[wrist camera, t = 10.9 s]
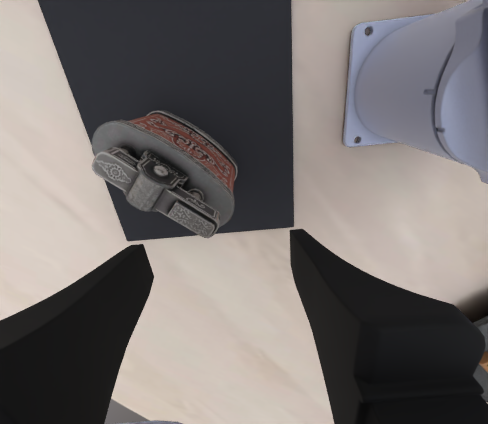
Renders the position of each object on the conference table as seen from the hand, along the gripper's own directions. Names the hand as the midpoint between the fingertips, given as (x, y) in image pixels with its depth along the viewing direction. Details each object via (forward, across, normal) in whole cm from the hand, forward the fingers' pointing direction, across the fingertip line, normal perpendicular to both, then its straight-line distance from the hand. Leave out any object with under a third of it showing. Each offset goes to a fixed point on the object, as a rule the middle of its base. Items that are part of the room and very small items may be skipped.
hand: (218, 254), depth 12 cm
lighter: (+10, +2, -3) cm, 11 cm away
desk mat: (+10, +2, -5) cm, 12 cm away
